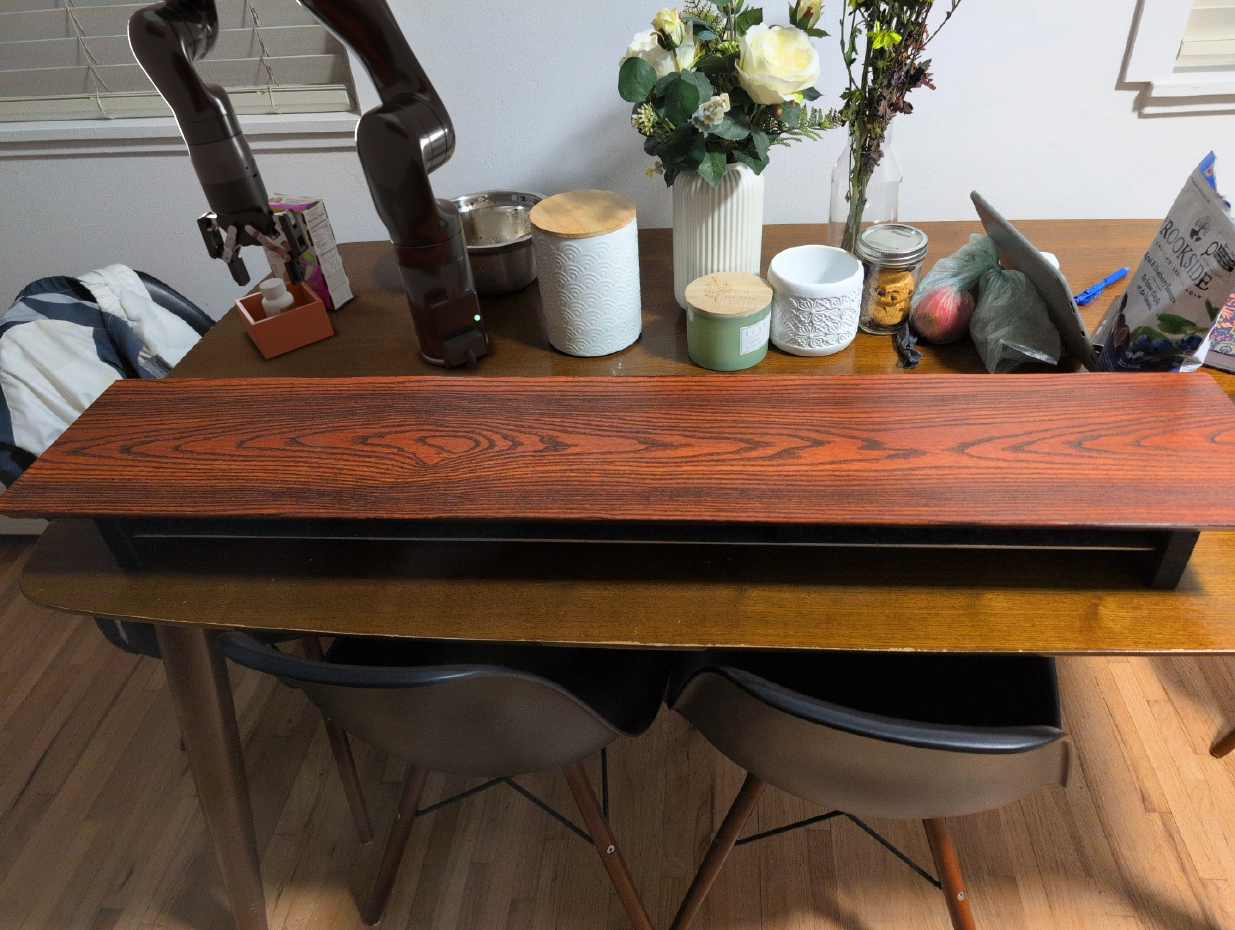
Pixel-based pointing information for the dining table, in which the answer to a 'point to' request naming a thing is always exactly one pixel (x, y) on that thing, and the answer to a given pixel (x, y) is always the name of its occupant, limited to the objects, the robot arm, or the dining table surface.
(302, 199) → the candy bar box
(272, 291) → the pill bottle
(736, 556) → the dining table surface
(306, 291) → the bin
